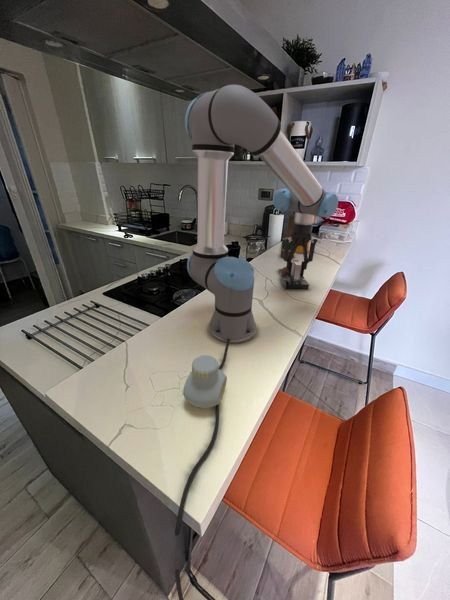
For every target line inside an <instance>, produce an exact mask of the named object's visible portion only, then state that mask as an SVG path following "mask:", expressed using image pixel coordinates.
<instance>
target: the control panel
mask: <svg viewBox="0 0 450 600" xmlns="http://www.w3.org/2000/svg"><path fill="white" fill-rule="evenodd" d="M280 281H281V283H282V285H283V287H284V290H300V291H301V290H303V291H306V290H307V291H308V290H309V286H310V284H309V283H308V281H307V279H306V278H305V276H303V277H301V276H300V278H299V282H293V280H292V279H291V277H288V275H282V274H281V275H280Z"/></svg>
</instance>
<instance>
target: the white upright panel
mask: <svg viewBox="0 0 450 600" xmlns="http://www.w3.org/2000/svg"><path fill="white" fill-rule="evenodd" d="M291 262H292V269H291V276H290V277H291V279H292V280H293V282H299V278H300V272H301V266H302V265H301V264H302V262H300V260H299V259H292V261H291Z"/></svg>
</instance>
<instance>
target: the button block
mask: <svg viewBox="0 0 450 600" xmlns="http://www.w3.org/2000/svg"><path fill="white" fill-rule="evenodd" d="M278 274H280V276H281V274H282V275H287V274H288V271H287V270H286V266H284V267H282V268H278Z"/></svg>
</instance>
